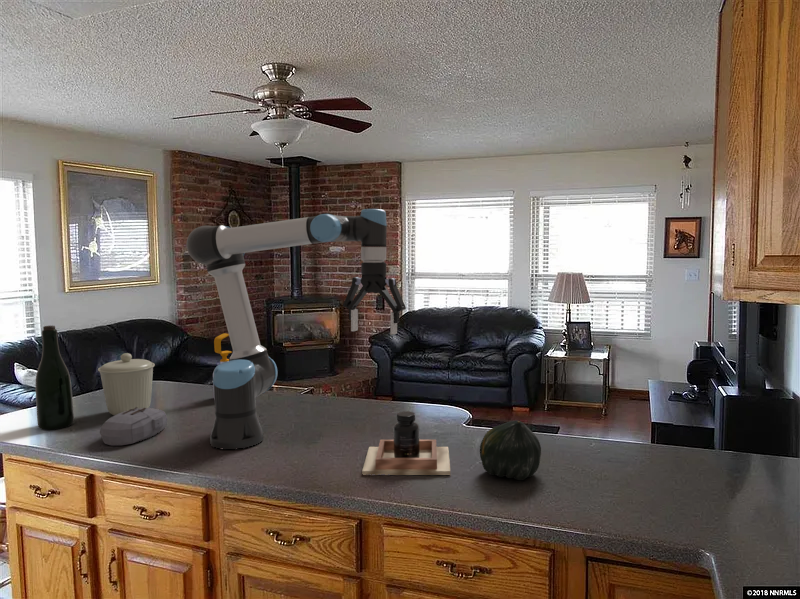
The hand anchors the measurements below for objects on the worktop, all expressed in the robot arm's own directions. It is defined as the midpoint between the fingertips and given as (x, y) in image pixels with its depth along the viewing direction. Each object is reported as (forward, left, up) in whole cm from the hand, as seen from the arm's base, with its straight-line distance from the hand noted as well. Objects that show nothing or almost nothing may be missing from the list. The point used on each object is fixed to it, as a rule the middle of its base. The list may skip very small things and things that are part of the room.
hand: (373, 332), depth 184 cm
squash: (+36, -33, -31) cm, 58 cm away
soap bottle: (-61, +42, -31) cm, 80 cm away
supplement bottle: (+10, -25, -30) cm, 40 cm away
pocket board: (+10, -25, -31) cm, 41 cm away
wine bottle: (-106, +8, -31) cm, 110 cm away
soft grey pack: (-74, -3, -31) cm, 81 cm away
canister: (-89, +23, -31) cm, 97 cm away
